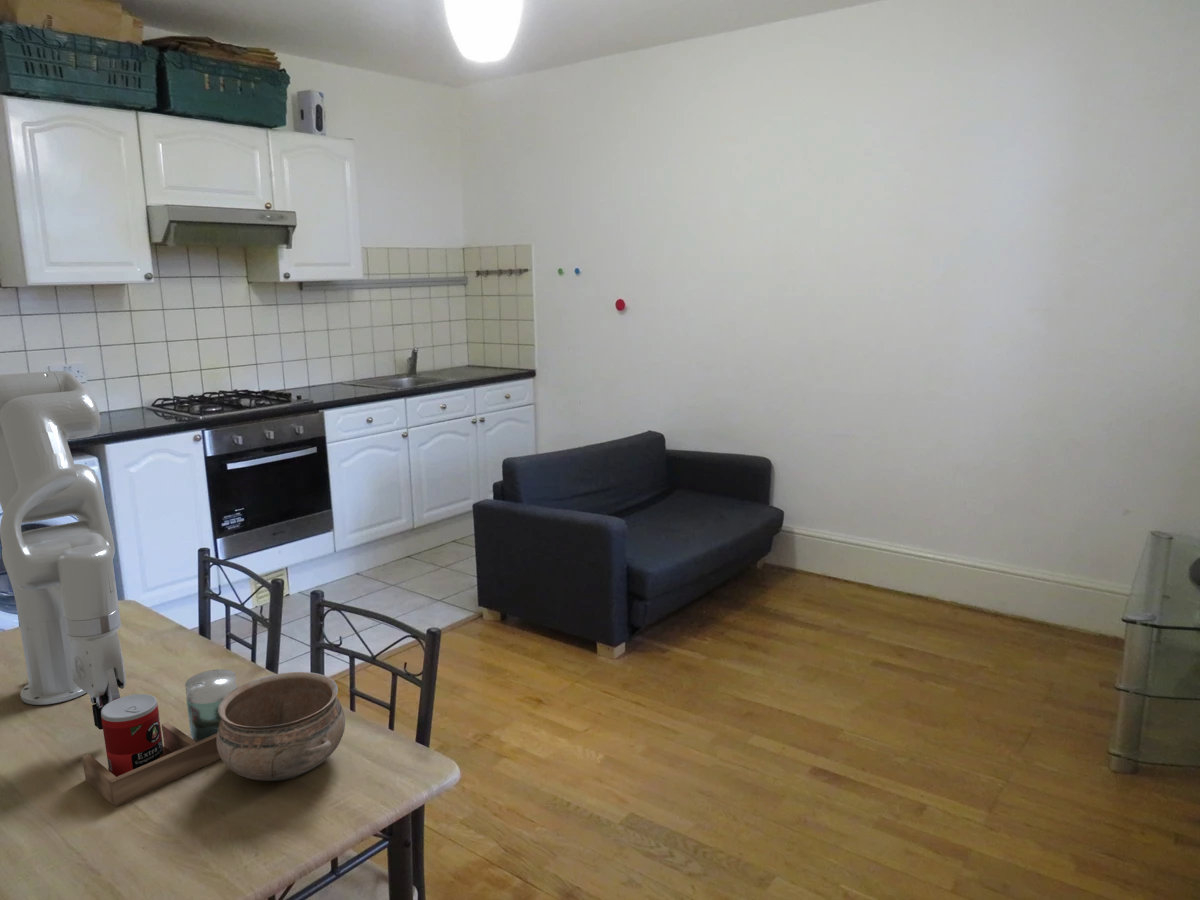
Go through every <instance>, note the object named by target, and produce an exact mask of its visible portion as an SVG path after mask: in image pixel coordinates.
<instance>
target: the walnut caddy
mask: <svg viewBox="0 0 1200 900" xmlns="http://www.w3.org/2000/svg"><path fill="white" fill-rule="evenodd" d="M161 733H162V741H163V748H166V749H167V750H168V751H170V752H171V753H169V754H166V755H164V757H161V758H159V759H157V760H154V761H152V762H150V763H148V764H145V765H143V766H141V767H138V768H136V769H134V770H131V771H129V772H127V773H125V774H122V775H120V776H118V777H116V776H115V775H113V774H112V773H111V772H110V771H109V769H108V768H106V767H105V766H104V765H103V764H101V763H100V762H99V761H98V760H97V759H96V758H95V757H94V756H92V755H91V754H90V753H88V754H86V755H83V756H81V759H82V766H83V772H84V779H85V781H86V782H87V783H88V784H89V785H91V787H93V788H94V789H95V790H96V791H97V792H98V793H99V794H100V795H101V796H103V797H104V798H105V799H106V800H107V801H108V802H109V803H110V804H112V806H114V807H115V808H117V807H118V806H121V805H123V804H125V803H127V802H129V801H132V800H134V799H136V798H138V797H140V796H143V795H145V794H147V793H149V792H151V791H153V790H155V789H158V788H160V787H162V786H164V785H167V784H168V783H171V782H173V781H175V780H177V779H179V778H181V777H184V776H186V775H189V774H190V773H192V772H195V771H197V770H199V769H201V768H203V767H206V766H208V765H210V764H212V763H214V762H216V761H218V760H222V759H221V758H220V755H219V753H218V750H217V744H216V742H217V734H214V735H212V736H210V737H207V738H205V739H203V740H200V741H198V742H196V741H194V740H193V739H192V738H191V737H190V736H189V735H187V734H186V733H184V732H183V731H182V730H180V729H179V728H177V727H176V726H174V725H173V724H171V723H170V722H169V721H167V722H163V724H161Z"/></svg>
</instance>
